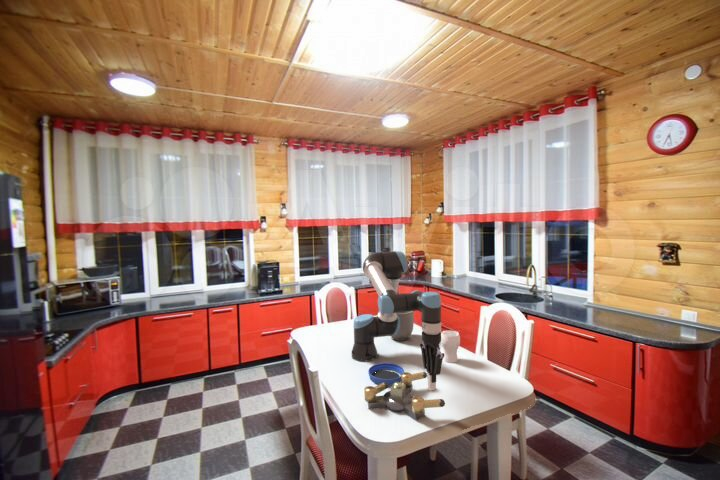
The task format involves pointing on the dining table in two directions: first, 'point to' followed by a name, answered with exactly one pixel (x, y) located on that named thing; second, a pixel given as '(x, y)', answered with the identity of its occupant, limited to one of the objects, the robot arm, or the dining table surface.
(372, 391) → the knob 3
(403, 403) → the tribrach
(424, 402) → the brass lever handle
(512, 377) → the dining table surface
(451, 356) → the cup
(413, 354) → the dining table surface
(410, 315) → the planter
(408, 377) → the brass tap handle
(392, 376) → the bowl
